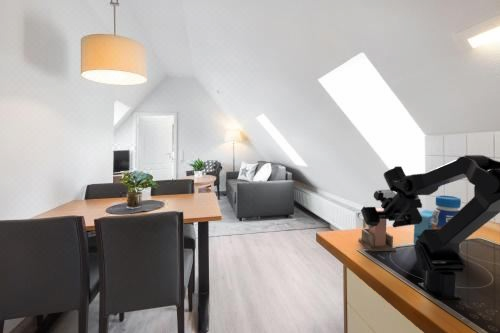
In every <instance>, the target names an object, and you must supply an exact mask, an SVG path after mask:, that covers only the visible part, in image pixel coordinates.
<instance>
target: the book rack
mask: <svg viewBox="0 0 500 333" xmlns="http://www.w3.org/2000/svg"><path fill="white" fill-rule="evenodd" d="M374 240H375V236H373V235H372V234H370V233H369V232H368V228H365V227H364V228H362V229H361V237H359V238H358V242H360V243H361V244H362V245H363V246H364V247H366V248H367V249H368V250H369V249H370V251H371V252H388V251H389V252H390V251H391V252H394V251H396V252H397V247H395V246H394V236H393V235H391V233H388V232H387V231H386V245H381V246H375V245H374Z"/></svg>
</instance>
